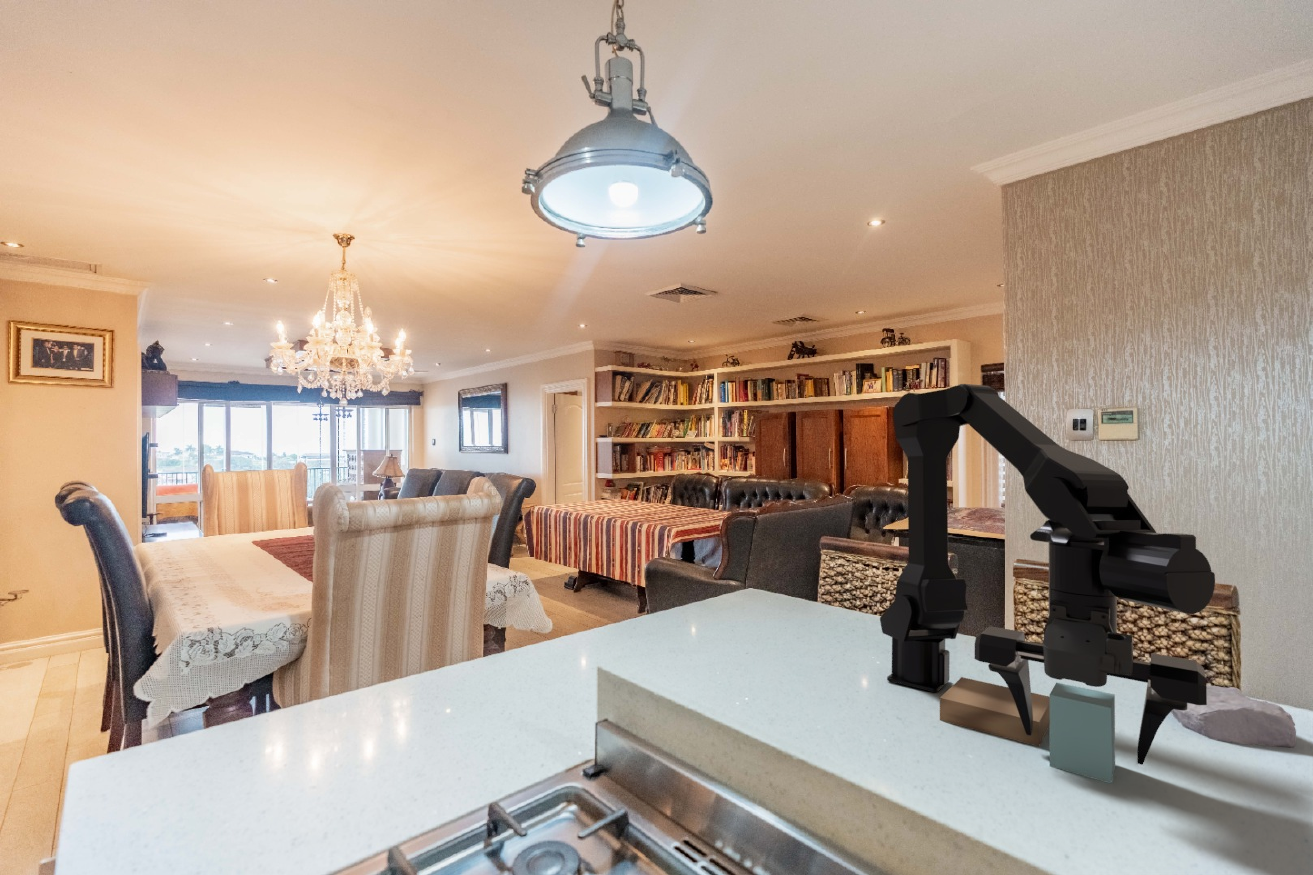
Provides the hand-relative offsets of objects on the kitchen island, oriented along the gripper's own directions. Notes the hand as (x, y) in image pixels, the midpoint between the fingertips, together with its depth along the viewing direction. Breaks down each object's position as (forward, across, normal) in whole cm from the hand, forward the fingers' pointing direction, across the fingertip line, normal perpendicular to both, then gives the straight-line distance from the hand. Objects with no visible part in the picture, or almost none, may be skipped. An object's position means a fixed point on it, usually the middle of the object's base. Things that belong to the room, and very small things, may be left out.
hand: (1082, 747), depth 62 cm
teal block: (+2, 0, 0) cm, 2 cm away
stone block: (+2, +11, +24) cm, 27 cm away
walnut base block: (+2, -9, +7) cm, 12 cm away
